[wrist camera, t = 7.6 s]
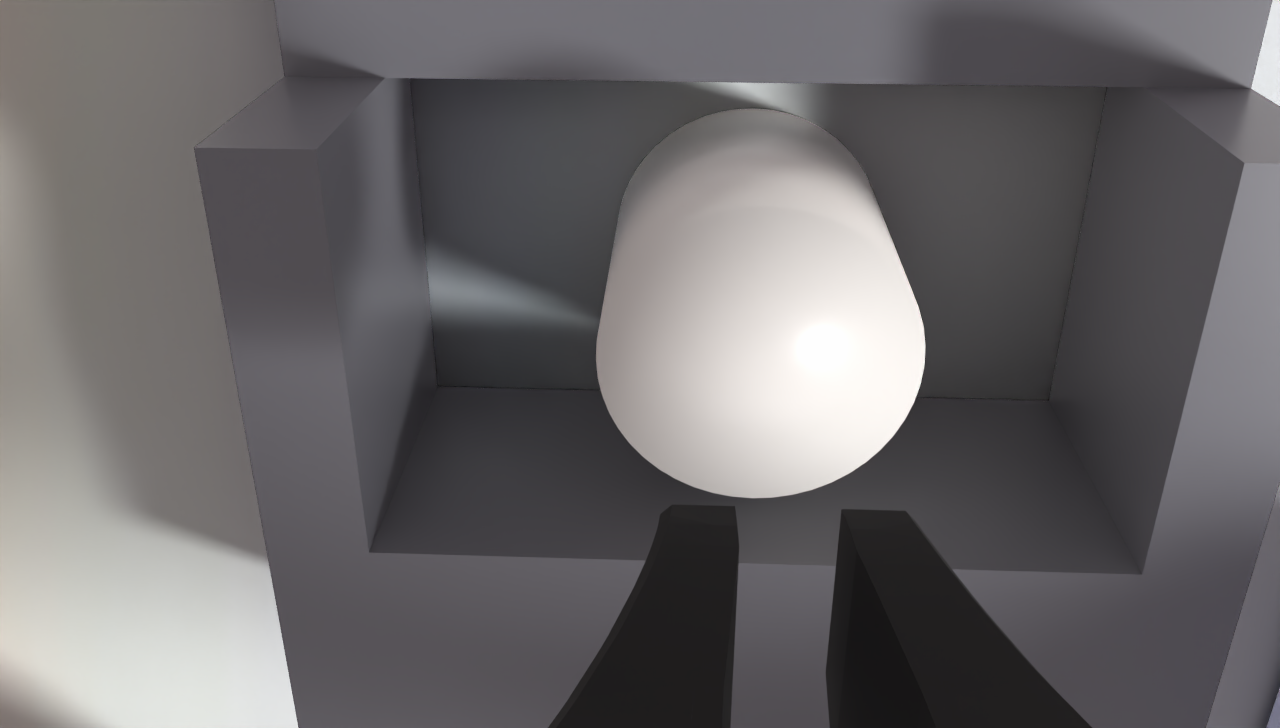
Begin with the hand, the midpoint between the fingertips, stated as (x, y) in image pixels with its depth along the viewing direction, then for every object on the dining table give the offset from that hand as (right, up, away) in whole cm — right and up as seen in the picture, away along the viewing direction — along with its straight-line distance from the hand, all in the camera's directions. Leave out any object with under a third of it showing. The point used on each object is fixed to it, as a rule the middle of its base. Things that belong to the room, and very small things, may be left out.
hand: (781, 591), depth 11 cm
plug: (0, +4, +8) cm, 10 cm away
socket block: (0, +3, +9) cm, 10 cm away
